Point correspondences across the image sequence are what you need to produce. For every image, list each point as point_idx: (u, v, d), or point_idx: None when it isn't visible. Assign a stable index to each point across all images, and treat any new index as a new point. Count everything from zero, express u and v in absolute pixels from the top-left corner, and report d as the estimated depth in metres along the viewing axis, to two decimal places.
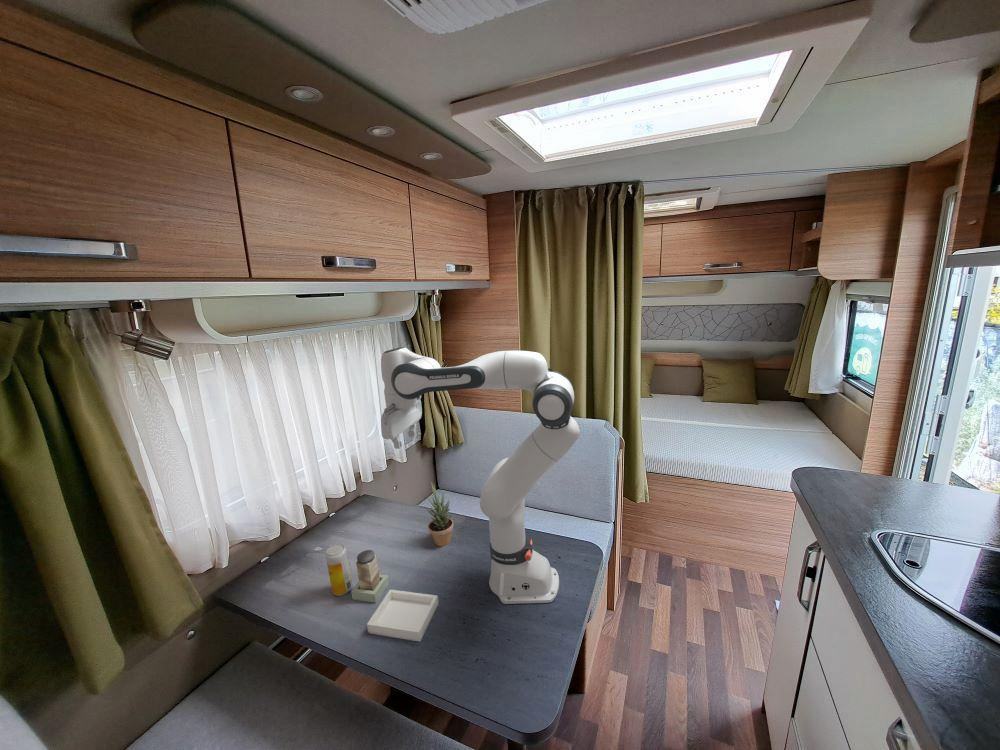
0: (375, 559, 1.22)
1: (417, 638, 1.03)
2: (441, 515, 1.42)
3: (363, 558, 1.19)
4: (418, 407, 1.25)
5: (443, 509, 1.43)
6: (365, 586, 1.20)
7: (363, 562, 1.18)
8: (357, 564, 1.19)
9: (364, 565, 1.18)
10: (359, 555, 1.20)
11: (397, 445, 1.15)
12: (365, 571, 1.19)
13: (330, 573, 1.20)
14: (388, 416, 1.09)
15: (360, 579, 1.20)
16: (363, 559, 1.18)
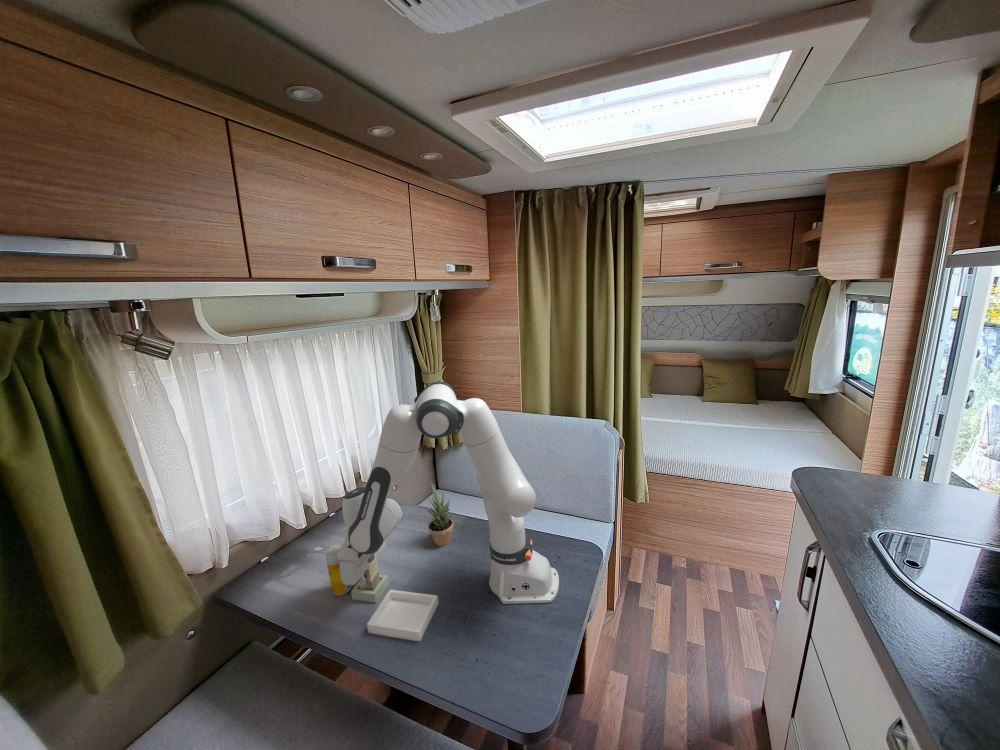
0: (375, 559, 1.22)
1: (417, 638, 1.03)
2: (441, 515, 1.42)
3: None
4: None
5: (443, 509, 1.43)
6: (365, 586, 1.20)
7: None
8: None
9: None
10: None
11: None
12: (365, 571, 1.19)
13: (330, 573, 1.20)
14: None
15: None
16: None
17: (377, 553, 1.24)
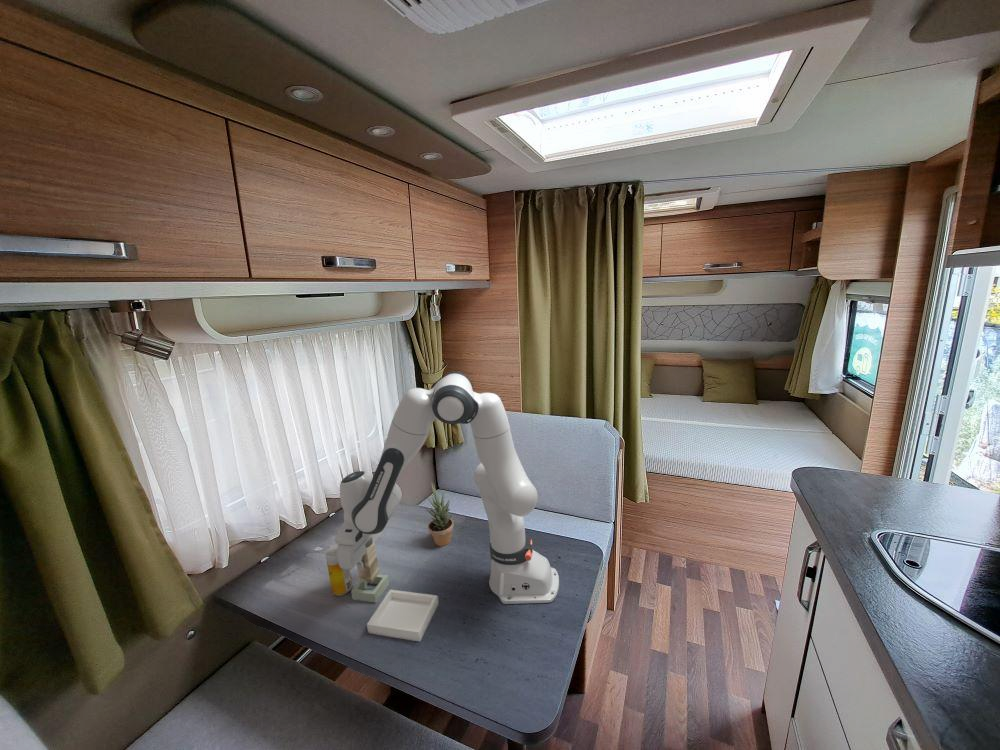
0: (373, 544, 1.21)
1: (417, 638, 1.03)
2: (441, 515, 1.42)
3: None
4: None
5: (443, 509, 1.43)
6: (363, 571, 1.19)
7: None
8: None
9: None
10: None
11: None
12: (363, 556, 1.18)
13: (330, 573, 1.20)
14: None
15: None
16: None
17: (375, 538, 1.23)
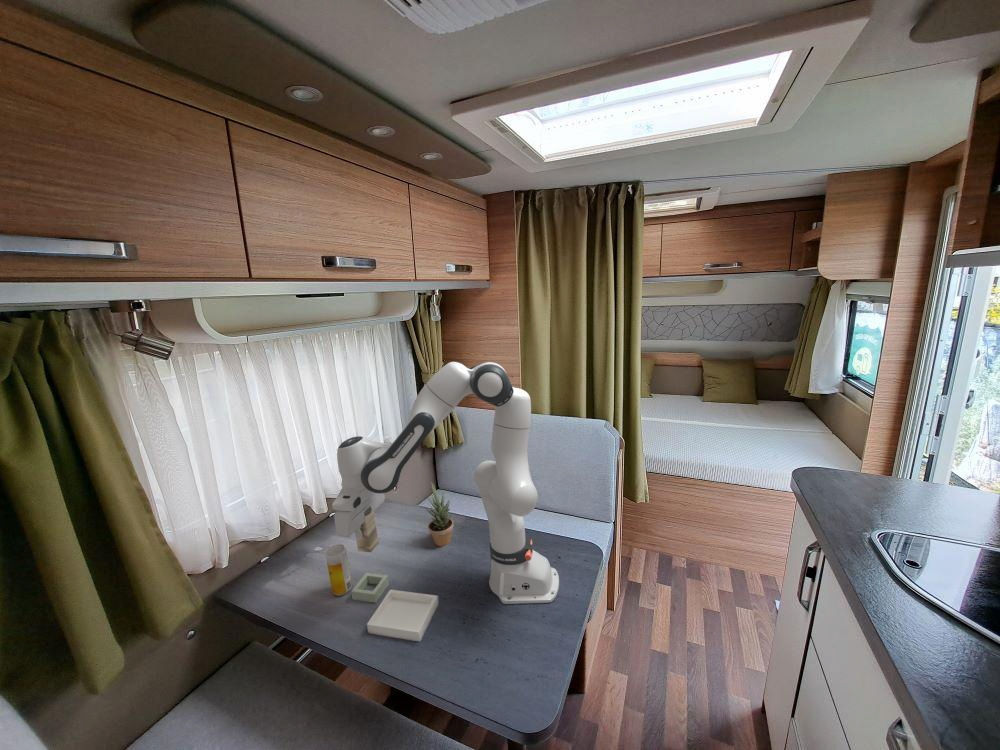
0: (372, 513, 1.17)
1: (417, 638, 1.03)
2: (441, 515, 1.42)
3: None
4: None
5: (443, 509, 1.43)
6: (362, 541, 1.15)
7: None
8: None
9: None
10: None
11: None
12: (362, 525, 1.14)
13: (330, 573, 1.20)
14: None
15: None
16: None
17: (374, 508, 1.19)
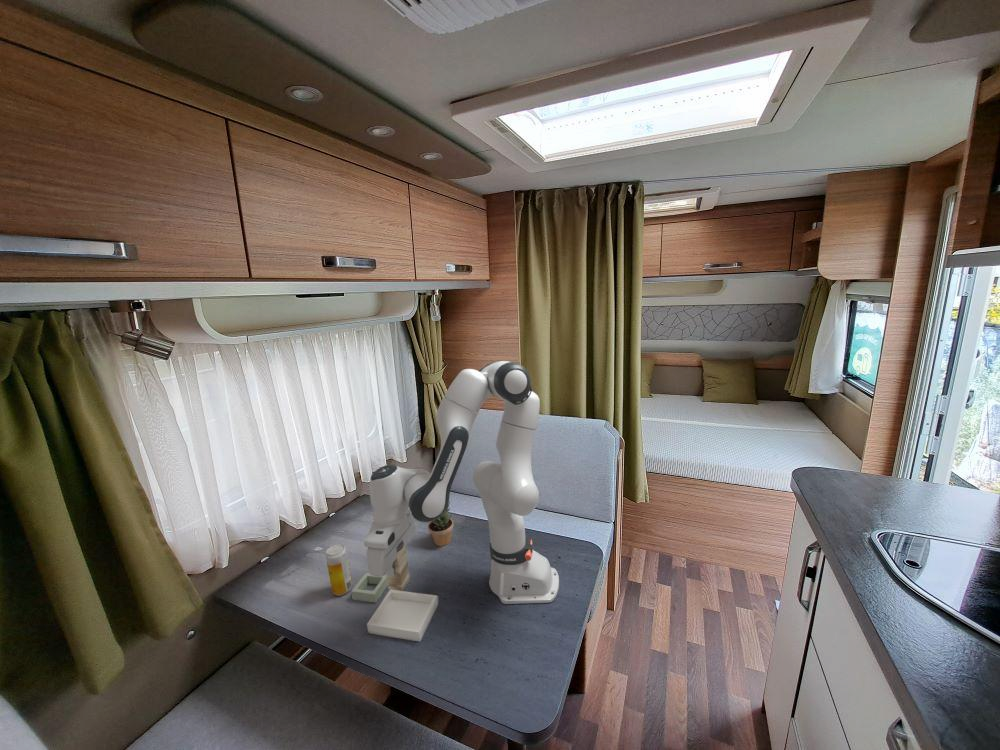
0: (404, 548, 1.08)
1: (417, 638, 1.03)
2: (441, 515, 1.42)
3: None
4: None
5: None
6: (393, 578, 1.06)
7: None
8: None
9: None
10: None
11: None
12: None
13: (330, 573, 1.20)
14: None
15: None
16: None
17: (406, 541, 1.10)
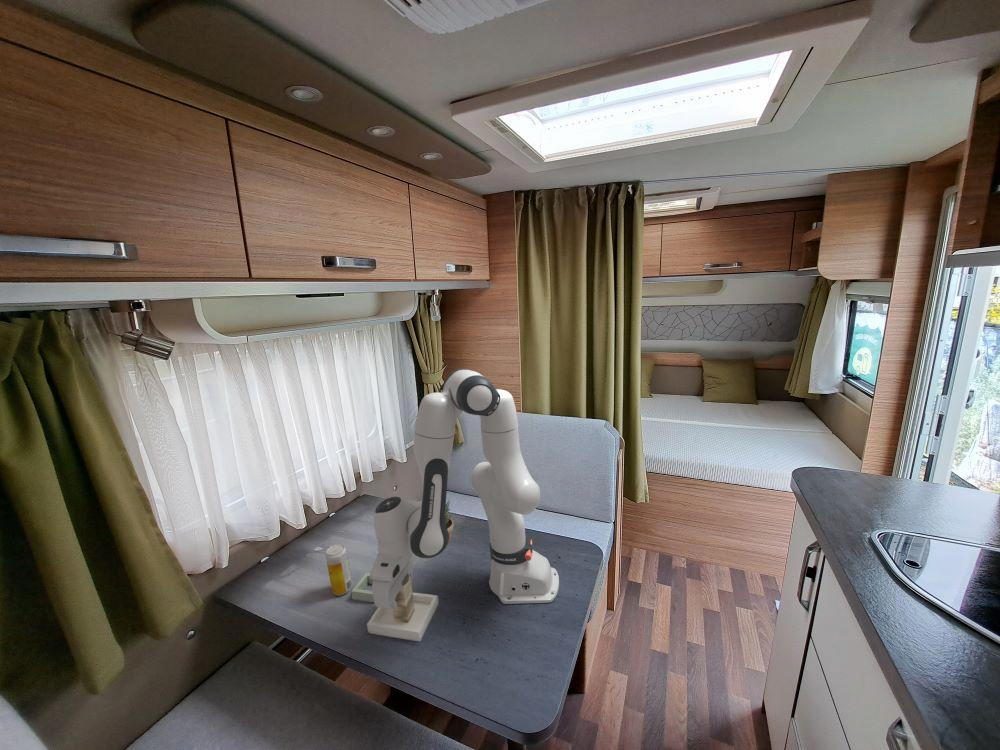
0: (409, 580, 1.10)
1: (417, 638, 1.03)
2: None
3: None
4: None
5: None
6: (399, 611, 1.09)
7: None
8: None
9: None
10: None
11: None
12: (399, 594, 1.07)
13: (330, 573, 1.20)
14: None
15: None
16: None
17: (410, 570, 1.12)
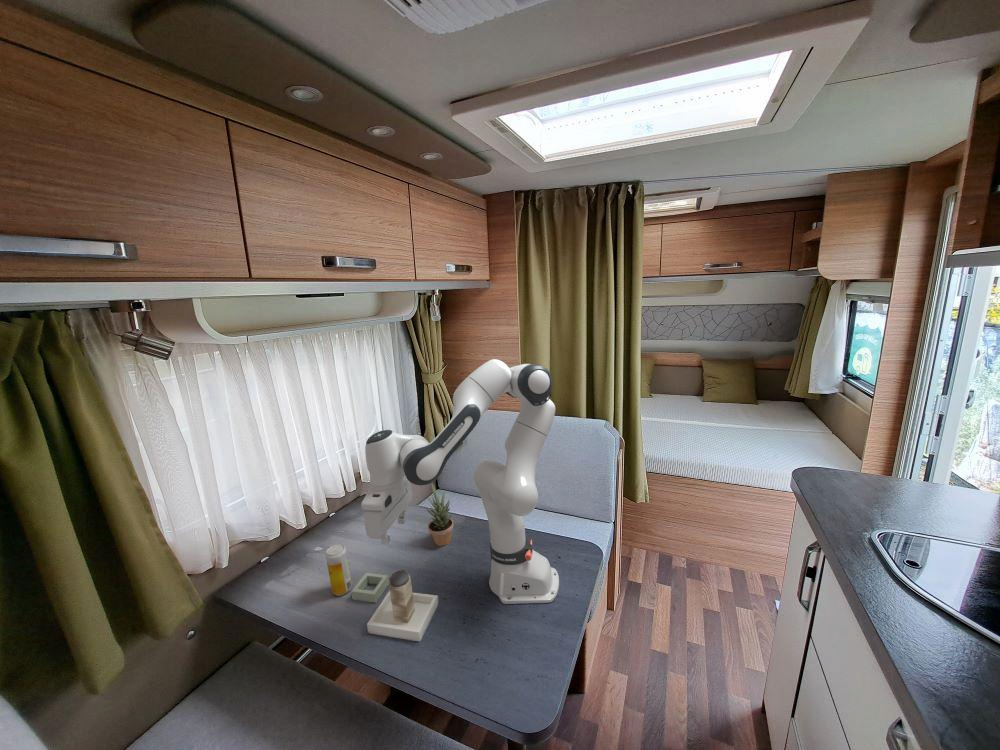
0: (409, 580, 1.10)
1: (417, 638, 1.03)
2: (441, 515, 1.42)
3: (397, 580, 1.07)
4: None
5: (443, 509, 1.43)
6: (399, 611, 1.09)
7: (397, 585, 1.06)
8: (390, 587, 1.07)
9: (398, 587, 1.07)
10: (392, 576, 1.09)
11: None
12: (399, 594, 1.07)
13: (330, 573, 1.20)
14: None
15: (393, 603, 1.08)
16: (397, 581, 1.07)
17: (403, 507, 1.10)
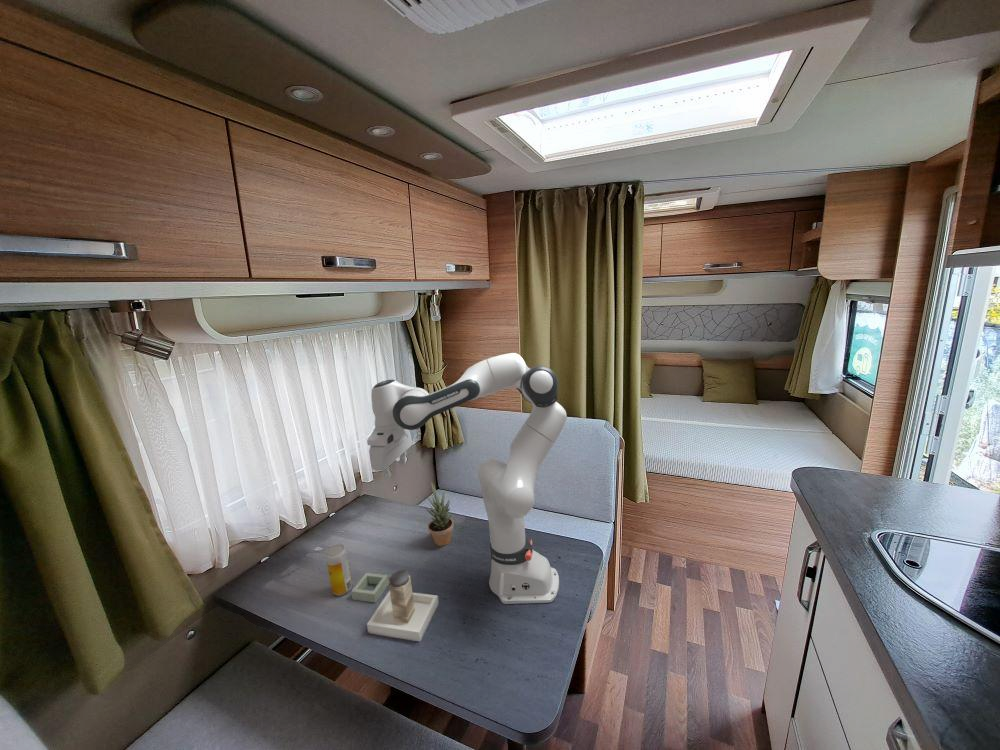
0: (409, 580, 1.10)
1: (417, 638, 1.03)
2: (441, 515, 1.42)
3: (397, 580, 1.07)
4: None
5: (443, 509, 1.43)
6: (399, 611, 1.09)
7: (397, 585, 1.06)
8: (390, 587, 1.07)
9: (398, 587, 1.07)
10: (392, 576, 1.09)
11: None
12: (399, 594, 1.07)
13: (330, 573, 1.20)
14: None
15: (393, 603, 1.08)
16: (397, 581, 1.07)
17: (403, 450, 1.26)
